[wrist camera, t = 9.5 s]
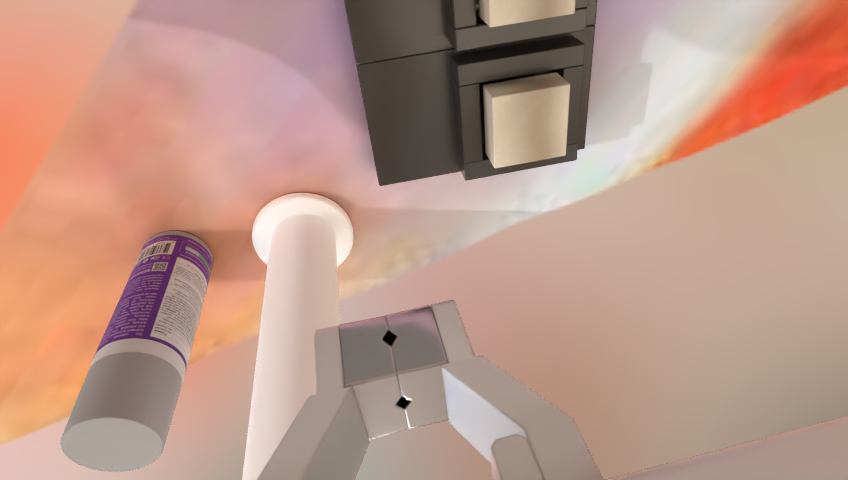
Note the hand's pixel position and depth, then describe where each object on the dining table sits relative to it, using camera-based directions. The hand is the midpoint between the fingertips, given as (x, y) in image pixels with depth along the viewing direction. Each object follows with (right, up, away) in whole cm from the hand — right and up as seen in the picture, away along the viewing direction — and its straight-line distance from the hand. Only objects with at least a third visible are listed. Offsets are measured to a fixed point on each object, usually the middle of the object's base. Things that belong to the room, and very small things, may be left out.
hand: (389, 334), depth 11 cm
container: (-17, +1, +26) cm, 31 cm away
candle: (-8, +3, +26) cm, 28 cm away
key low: (+6, +10, +20) cm, 23 cm away
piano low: (+4, +11, +22) cm, 25 cm away
